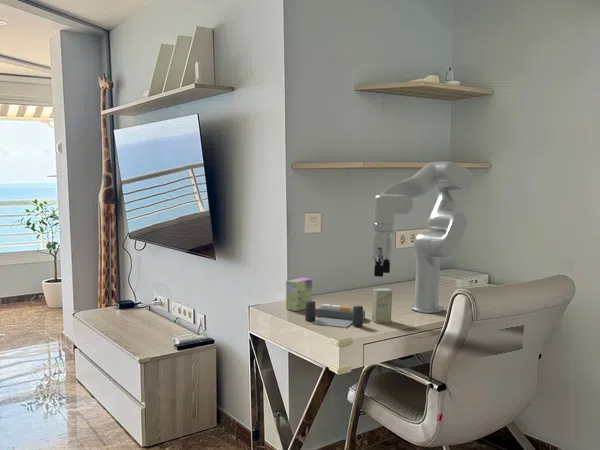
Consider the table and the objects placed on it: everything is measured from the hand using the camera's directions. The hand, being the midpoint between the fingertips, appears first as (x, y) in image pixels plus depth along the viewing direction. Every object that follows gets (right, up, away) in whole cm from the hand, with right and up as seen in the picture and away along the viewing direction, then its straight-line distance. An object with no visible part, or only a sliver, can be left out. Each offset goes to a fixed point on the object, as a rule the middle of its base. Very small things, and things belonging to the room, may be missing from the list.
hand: (382, 274), depth 205 cm
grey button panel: (-17, -17, +2) cm, 24 cm away
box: (-31, -16, +21) cm, 41 cm away
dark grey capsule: (-10, -18, -5) cm, 21 cm away
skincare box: (0, -18, +2) cm, 18 cm away
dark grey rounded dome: (-27, -17, +2) cm, 32 cm away
